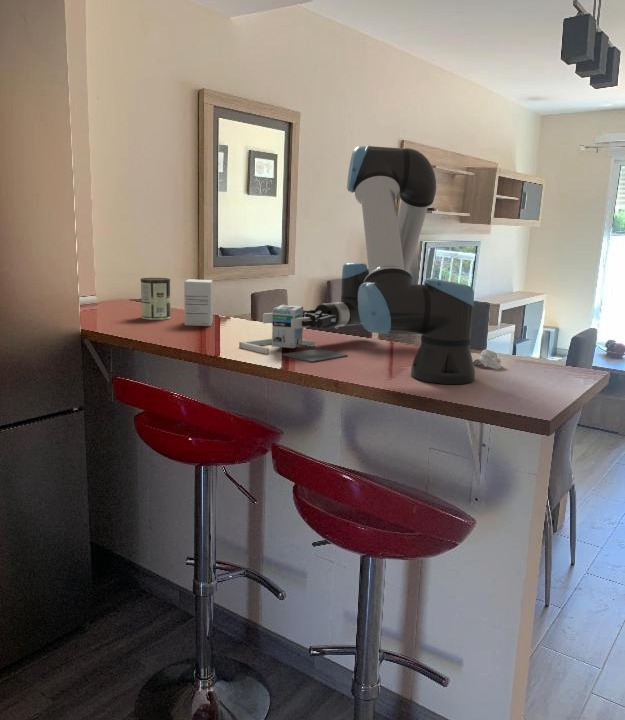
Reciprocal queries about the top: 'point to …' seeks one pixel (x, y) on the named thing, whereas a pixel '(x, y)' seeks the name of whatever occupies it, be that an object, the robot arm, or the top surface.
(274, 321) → the light bulb box
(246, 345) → the grey bent bar
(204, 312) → the supplement box
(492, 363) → the whitish grey rock
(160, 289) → the coffee can
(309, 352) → the rubber mat
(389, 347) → the top surface
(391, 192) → the robot arm
